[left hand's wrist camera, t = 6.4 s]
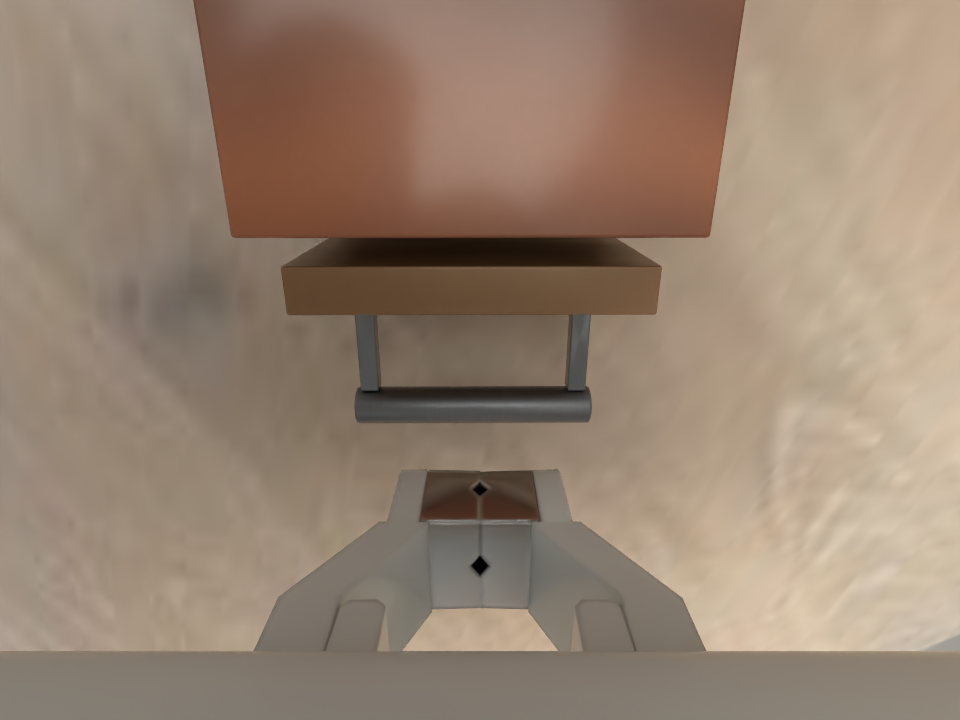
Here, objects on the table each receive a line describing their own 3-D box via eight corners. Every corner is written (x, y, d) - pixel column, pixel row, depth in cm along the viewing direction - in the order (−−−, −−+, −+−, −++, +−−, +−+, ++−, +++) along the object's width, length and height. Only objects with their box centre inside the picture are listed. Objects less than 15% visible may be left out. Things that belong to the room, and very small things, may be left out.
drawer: (584, 381, 22) (635, 489, 15) (362, 382, 22) (309, 491, 15) (647, -458, 14) (828, -1097, 7) (292, -462, 14) (98, -1110, 7)
